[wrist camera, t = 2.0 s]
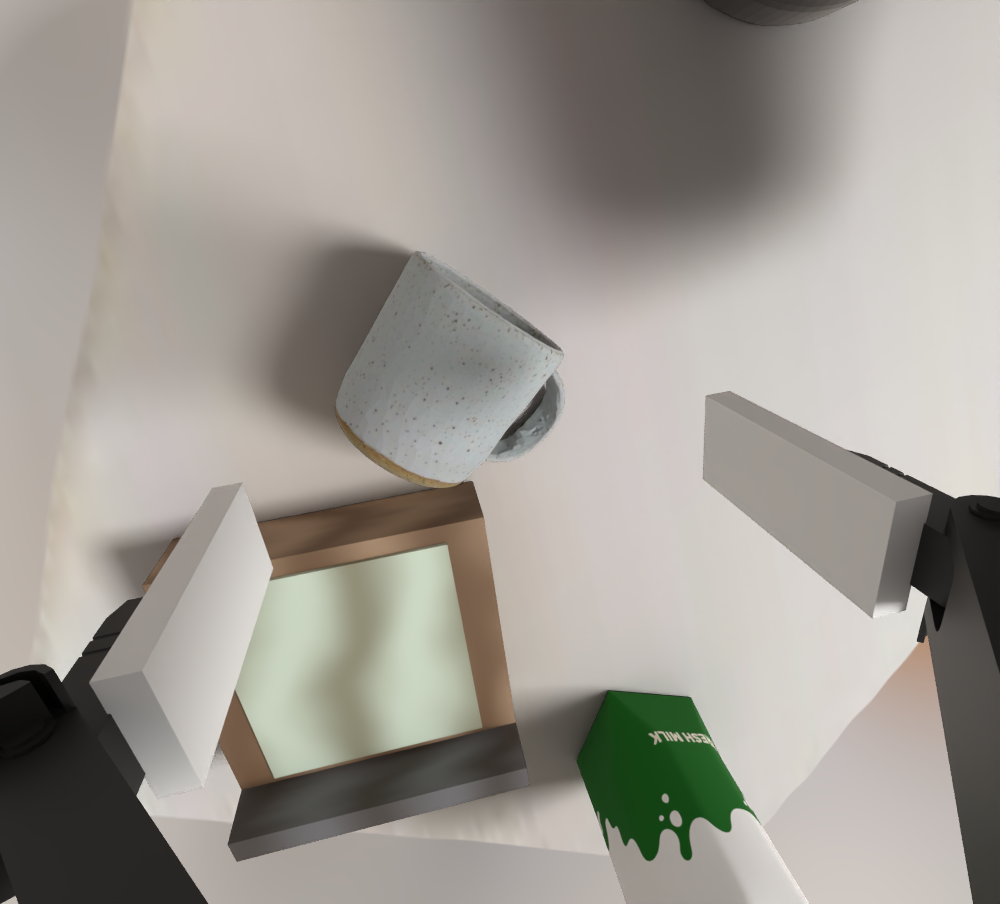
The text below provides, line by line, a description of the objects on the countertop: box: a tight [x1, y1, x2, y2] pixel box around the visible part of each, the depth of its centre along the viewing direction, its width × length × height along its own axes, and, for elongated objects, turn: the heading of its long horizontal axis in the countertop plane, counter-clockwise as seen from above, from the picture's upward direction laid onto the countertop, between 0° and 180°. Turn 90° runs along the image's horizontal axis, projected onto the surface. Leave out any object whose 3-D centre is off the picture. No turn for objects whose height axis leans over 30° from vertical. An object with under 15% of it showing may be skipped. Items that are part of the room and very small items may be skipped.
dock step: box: [142, 482, 529, 862], centre depth 30 cm, size 16×16×7 cm
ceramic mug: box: [335, 252, 565, 488], centre depth 25 cm, size 11×8×8 cm
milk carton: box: [577, 691, 810, 904], centre depth 32 cm, size 9×9×20 cm
